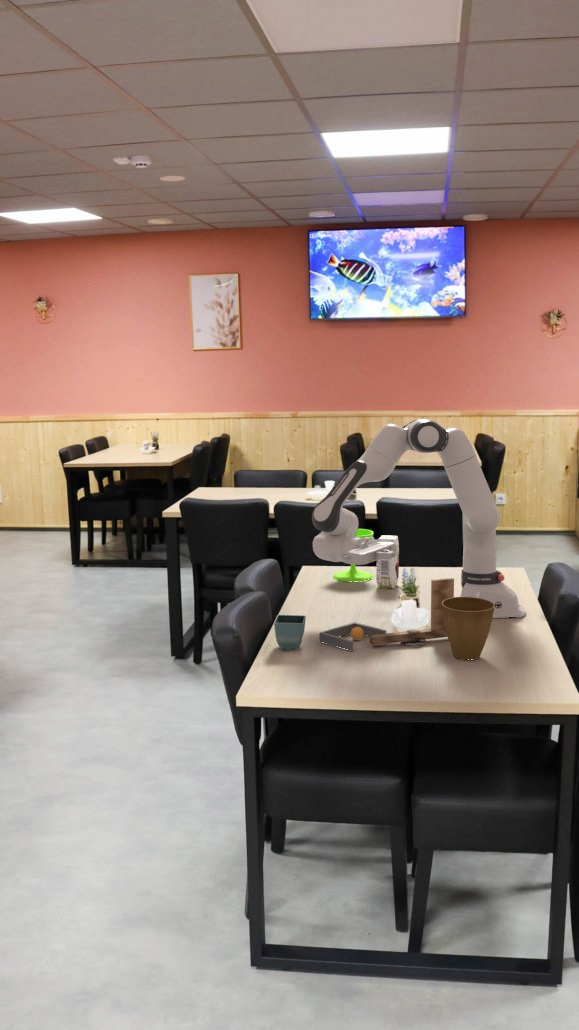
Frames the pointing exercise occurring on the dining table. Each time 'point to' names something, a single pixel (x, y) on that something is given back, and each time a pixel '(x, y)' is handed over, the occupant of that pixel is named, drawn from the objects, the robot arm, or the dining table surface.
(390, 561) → the juice carton
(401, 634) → the lever
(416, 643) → the pivot base
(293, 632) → the flower pot
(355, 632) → the ball
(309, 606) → the dining table surface
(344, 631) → the corral
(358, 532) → the wineglass
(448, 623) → the plant pot
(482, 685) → the dining table surface
